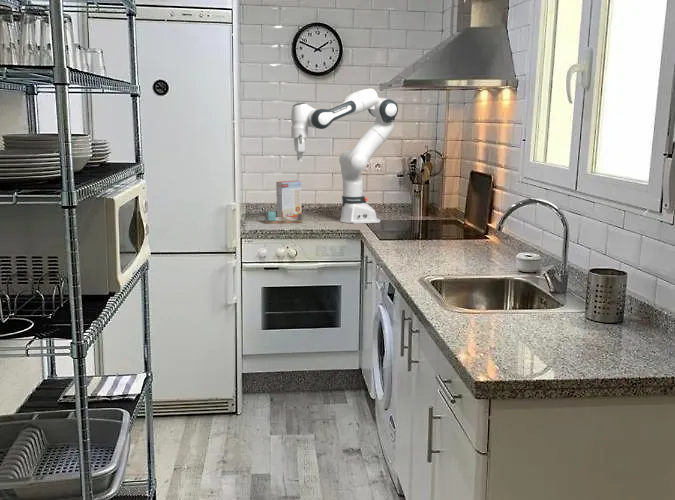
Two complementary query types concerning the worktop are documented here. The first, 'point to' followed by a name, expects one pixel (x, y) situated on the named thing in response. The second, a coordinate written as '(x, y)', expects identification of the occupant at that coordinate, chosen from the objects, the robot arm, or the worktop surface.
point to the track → (283, 219)
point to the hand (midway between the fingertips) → (299, 160)
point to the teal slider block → (271, 216)
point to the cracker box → (288, 198)
